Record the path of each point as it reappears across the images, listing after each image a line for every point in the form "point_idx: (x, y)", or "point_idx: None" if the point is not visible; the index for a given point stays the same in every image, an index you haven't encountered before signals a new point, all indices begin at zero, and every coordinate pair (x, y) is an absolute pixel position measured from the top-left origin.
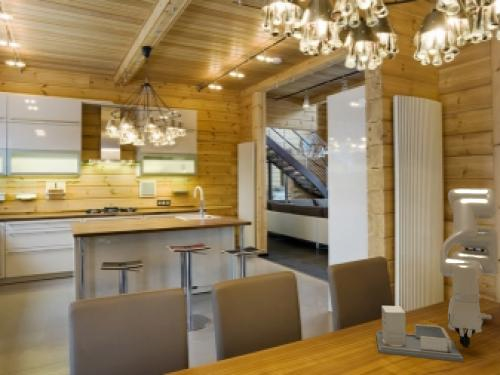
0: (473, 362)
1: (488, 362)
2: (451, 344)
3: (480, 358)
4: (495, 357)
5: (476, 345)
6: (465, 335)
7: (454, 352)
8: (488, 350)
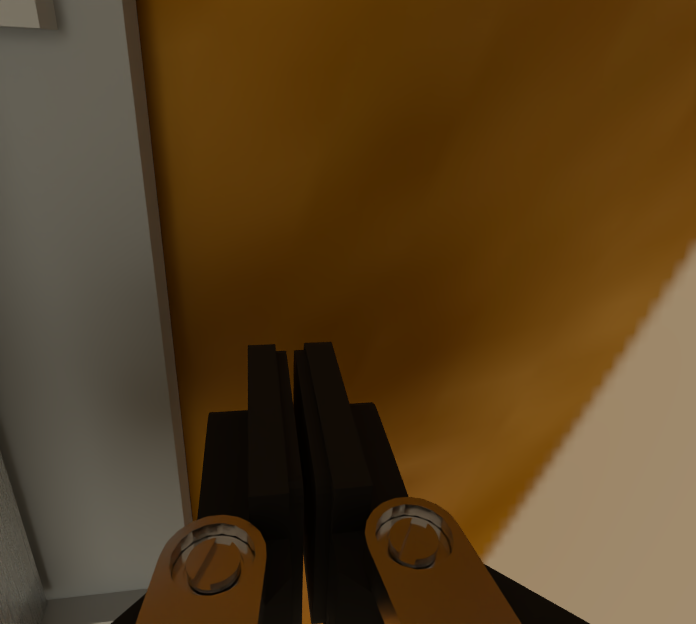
0: None
1: (464, 507)
2: (86, 257)
3: (421, 450)
4: (605, 381)
5: (572, 31)
6: (330, 572)
7: (107, 514)
8: (647, 200)
